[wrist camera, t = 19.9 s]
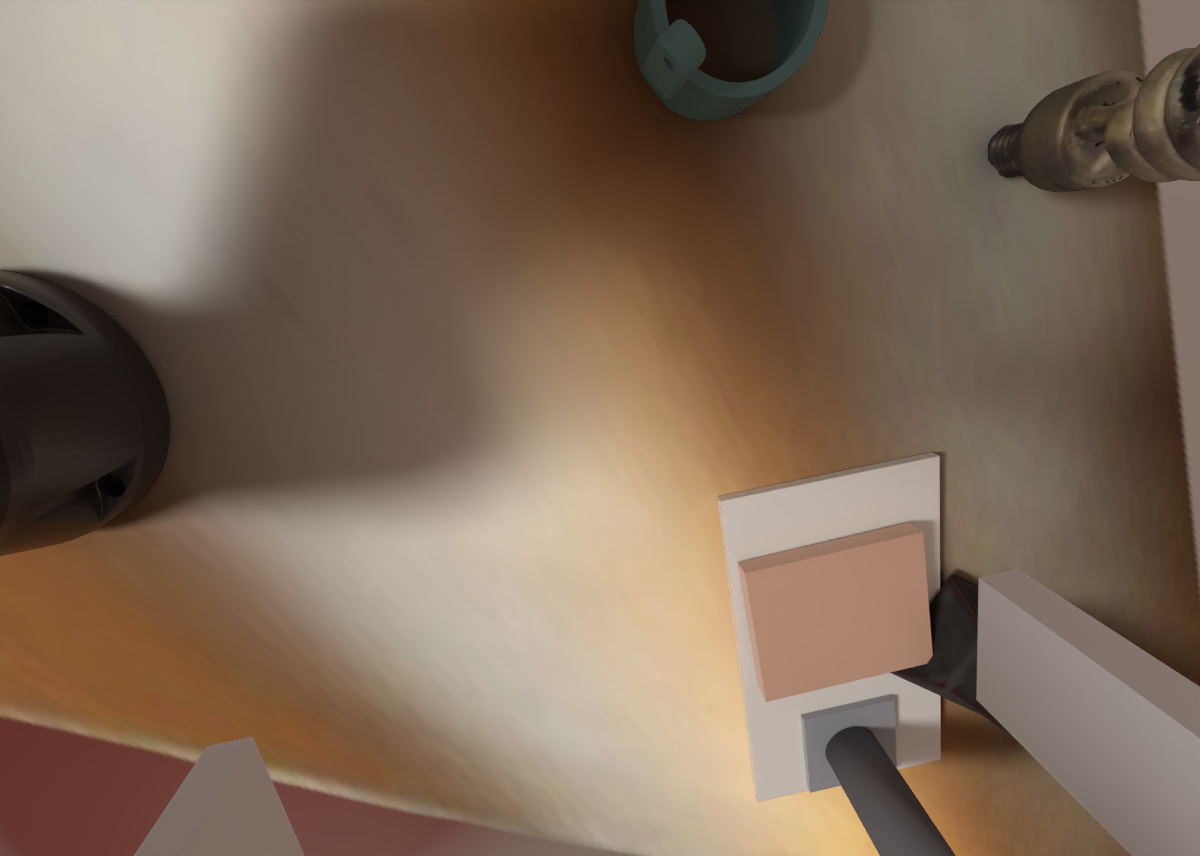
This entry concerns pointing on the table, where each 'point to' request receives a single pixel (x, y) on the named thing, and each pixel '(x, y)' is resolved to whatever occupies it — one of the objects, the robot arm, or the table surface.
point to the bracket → (680, 51)
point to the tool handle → (882, 797)
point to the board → (880, 703)
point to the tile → (838, 611)
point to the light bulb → (1109, 130)
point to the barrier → (952, 647)
